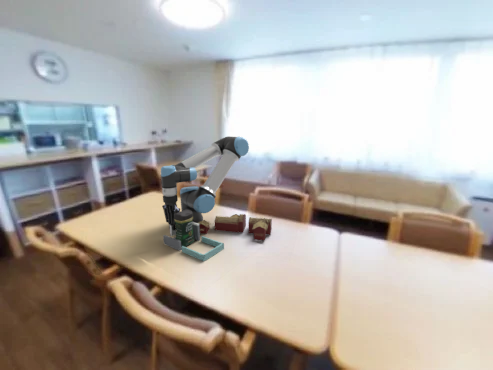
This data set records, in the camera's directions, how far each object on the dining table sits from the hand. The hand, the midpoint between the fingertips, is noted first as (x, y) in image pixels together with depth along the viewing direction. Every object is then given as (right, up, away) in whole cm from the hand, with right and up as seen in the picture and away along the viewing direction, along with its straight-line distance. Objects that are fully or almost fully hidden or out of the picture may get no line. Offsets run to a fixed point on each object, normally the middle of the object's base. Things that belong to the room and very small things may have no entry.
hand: (173, 234), depth 133 cm
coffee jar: (+8, -4, -5) cm, 10 cm away
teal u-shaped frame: (+19, -5, -12) cm, 23 cm away
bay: (+6, -3, -3) cm, 8 cm away
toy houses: (+34, 0, +11) cm, 35 cm away
